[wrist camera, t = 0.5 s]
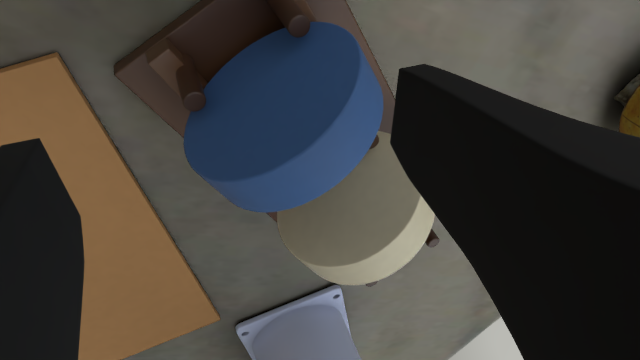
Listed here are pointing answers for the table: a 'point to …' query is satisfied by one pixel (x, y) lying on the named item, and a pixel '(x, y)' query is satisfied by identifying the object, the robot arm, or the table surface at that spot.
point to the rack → (228, 54)
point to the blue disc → (286, 119)
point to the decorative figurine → (630, 108)
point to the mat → (104, 218)
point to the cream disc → (360, 222)
